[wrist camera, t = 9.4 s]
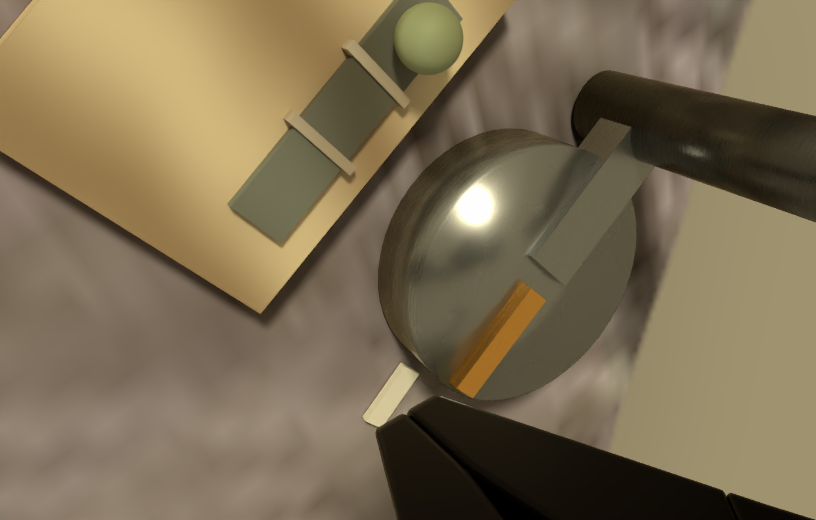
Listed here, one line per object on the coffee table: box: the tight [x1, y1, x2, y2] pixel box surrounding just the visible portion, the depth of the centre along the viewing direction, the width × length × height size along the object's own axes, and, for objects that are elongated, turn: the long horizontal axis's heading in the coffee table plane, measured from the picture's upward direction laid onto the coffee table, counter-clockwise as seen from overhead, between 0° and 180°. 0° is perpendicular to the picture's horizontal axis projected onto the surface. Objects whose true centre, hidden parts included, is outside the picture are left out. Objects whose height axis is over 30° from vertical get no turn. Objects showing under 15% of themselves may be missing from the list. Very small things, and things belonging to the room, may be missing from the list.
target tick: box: [363, 363, 419, 427], centre depth 25 cm, size 2×1×1 cm, turn 140°
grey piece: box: [378, 70, 816, 400], centre depth 21 cm, size 12×9×12 cm
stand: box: [0, 0, 515, 314], centre depth 17 cm, size 12×9×3 cm
